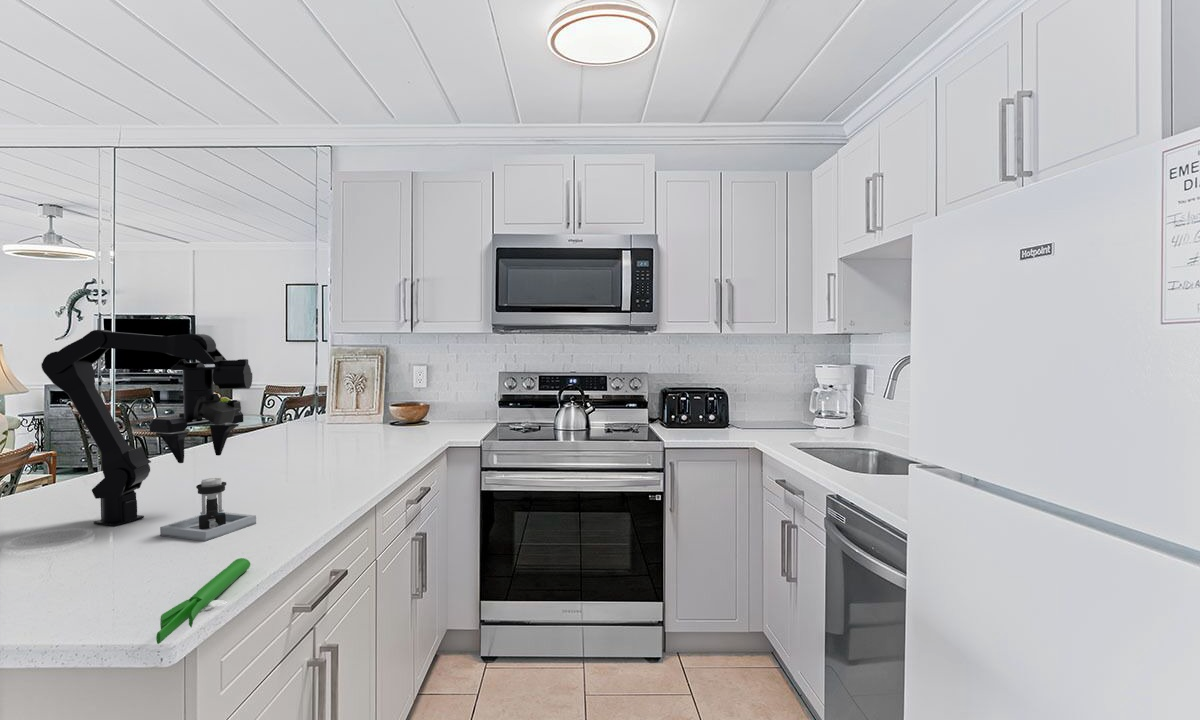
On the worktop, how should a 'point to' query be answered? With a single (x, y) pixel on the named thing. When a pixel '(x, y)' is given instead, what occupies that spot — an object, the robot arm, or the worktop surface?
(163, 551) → the worktop surface
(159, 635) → the green onion
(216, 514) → the push button
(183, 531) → the tray
